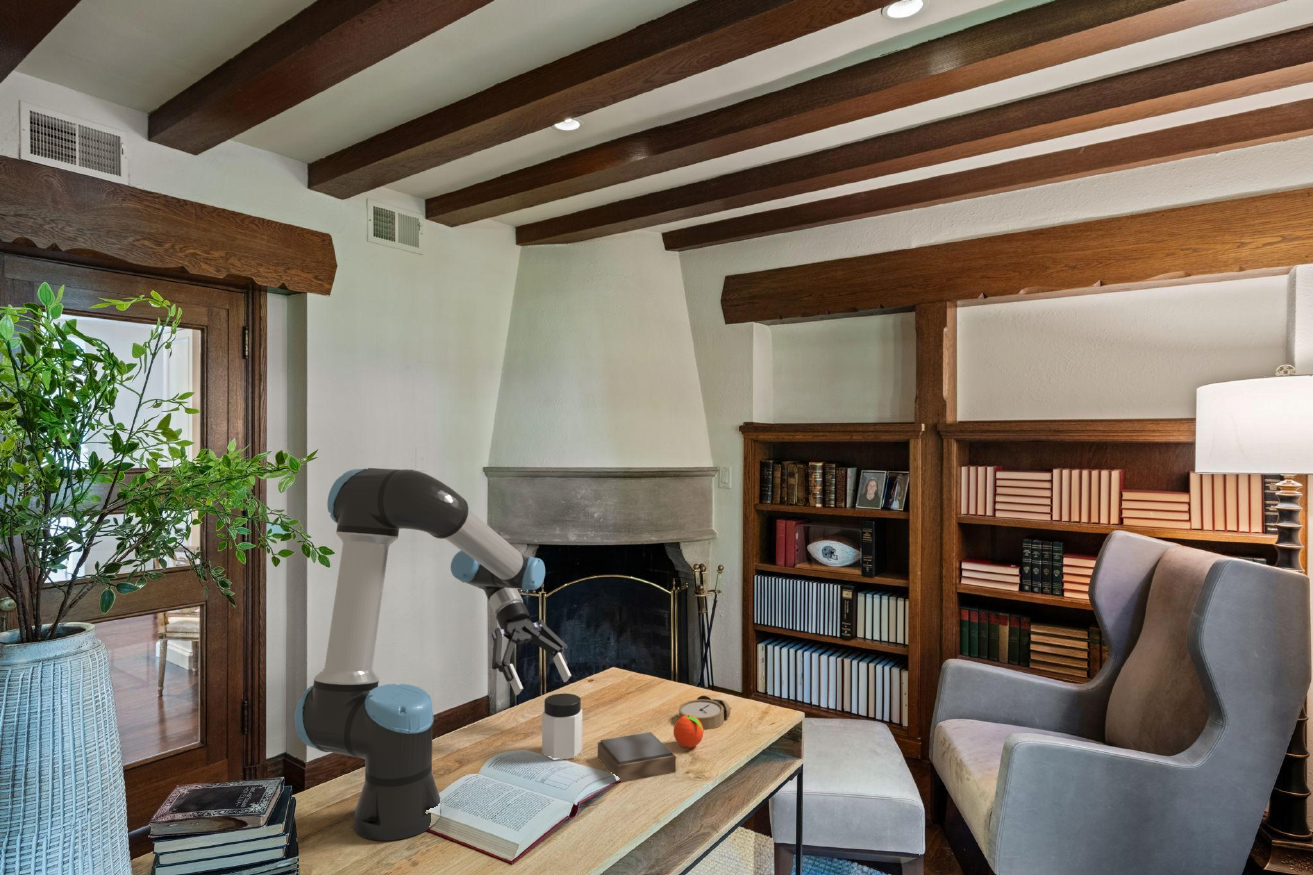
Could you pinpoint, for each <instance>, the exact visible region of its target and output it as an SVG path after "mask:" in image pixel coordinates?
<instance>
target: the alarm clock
mask: <svg viewBox="0 0 1313 875" xmlns="http://www.w3.org/2000/svg"><path fill="white" fill-rule="evenodd" d="M678 710H679V711H678V712H679V713H678V715H679V716H678V717H676V718H675V720H676V721H677V720H678V719H679V718H681V717H683V716H686V715H691V716H694V717H696V718H697V719H698V720H699V721H700V722H701V724H702V726H703V731H705V730H706V731H707V730H708V729H709V730H715V729H717V728H719V727H721V726H722V725H723V724H724V722H725V720H727V719H729V717H730V715H731V710H732V707H730V704H729V703H728V701H726V700H724V699H719V698H717V699H716V698H713V699H712V698H711V697H710V696H709V695H706V694H703V695H699V696H698V697H697V698H696V699H692V700H688V701H685V702H684V703H682V704H681V705H679V707H678ZM725 717H726V718H725Z"/></svg>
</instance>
